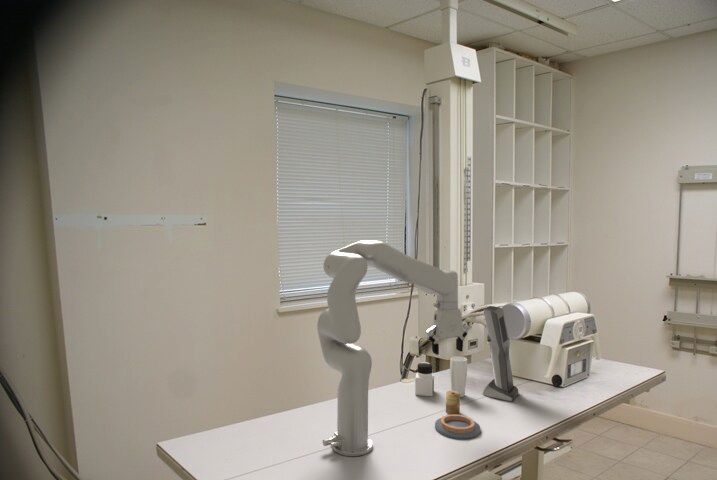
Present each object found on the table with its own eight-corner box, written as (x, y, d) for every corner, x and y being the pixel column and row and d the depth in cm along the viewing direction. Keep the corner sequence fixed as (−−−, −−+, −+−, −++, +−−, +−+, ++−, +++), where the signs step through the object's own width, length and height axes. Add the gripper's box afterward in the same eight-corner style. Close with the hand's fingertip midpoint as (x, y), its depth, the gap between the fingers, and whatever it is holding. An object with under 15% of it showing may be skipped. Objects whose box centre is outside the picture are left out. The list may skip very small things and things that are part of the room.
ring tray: (456, 443, 144) (456, 435, 144) (425, 424, 157) (425, 417, 157) (489, 432, 152) (490, 425, 152) (458, 415, 165) (458, 408, 165)
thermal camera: (488, 386, 194) (489, 305, 193) (519, 392, 188) (521, 308, 186) (480, 395, 184) (481, 309, 183) (512, 402, 178) (514, 313, 176)
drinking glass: (469, 394, 185) (469, 358, 185) (463, 399, 180) (464, 362, 179) (453, 391, 189) (453, 355, 188) (447, 396, 183) (447, 359, 183)
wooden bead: (452, 416, 165) (452, 396, 164) (443, 411, 169) (443, 392, 169) (462, 413, 167) (462, 394, 167) (453, 408, 172) (453, 389, 171)
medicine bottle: (433, 396, 183) (433, 367, 182) (415, 395, 184) (415, 365, 184) (433, 390, 190) (434, 361, 189) (416, 388, 191) (416, 360, 190)
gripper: (430, 309, 157) (431, 358, 158) (473, 305, 163) (474, 352, 164) (420, 305, 164) (421, 352, 165) (462, 301, 170) (462, 346, 171)
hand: (447, 352), depth 165 cm, fingers open, 9 cm apart
